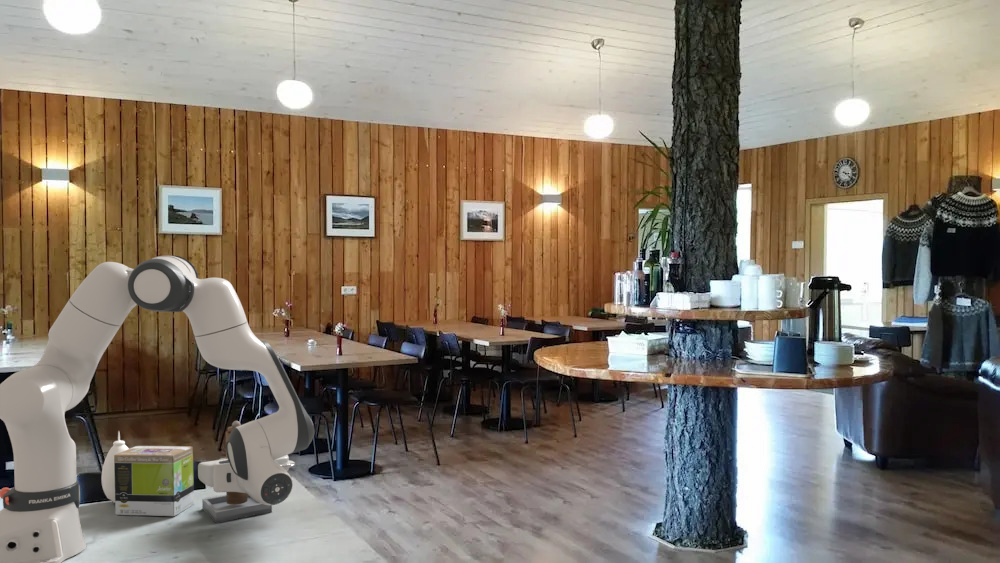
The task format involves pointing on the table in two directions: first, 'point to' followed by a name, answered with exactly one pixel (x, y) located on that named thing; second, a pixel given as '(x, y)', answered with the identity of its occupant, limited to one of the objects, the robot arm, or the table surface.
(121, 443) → the sauce bottle
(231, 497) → the pepper mill
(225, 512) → the serving tray
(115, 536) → the table surface
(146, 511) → the tea box
